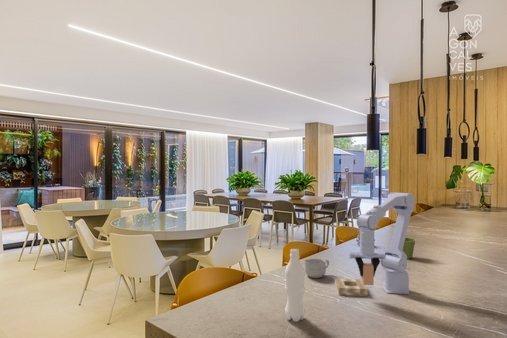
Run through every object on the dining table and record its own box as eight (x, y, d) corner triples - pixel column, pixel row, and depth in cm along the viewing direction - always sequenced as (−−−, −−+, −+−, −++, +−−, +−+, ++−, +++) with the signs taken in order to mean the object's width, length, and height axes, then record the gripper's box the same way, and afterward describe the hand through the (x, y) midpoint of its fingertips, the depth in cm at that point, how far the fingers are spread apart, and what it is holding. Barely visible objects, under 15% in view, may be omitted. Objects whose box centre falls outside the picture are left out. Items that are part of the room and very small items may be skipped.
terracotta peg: (371, 281, 134) (370, 262, 134) (373, 285, 130) (373, 265, 130) (361, 281, 135) (361, 262, 135) (363, 284, 131) (363, 265, 131)
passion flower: (360, 253, 224) (350, 238, 229) (369, 248, 231) (359, 234, 235) (371, 247, 216) (360, 232, 220) (379, 242, 223) (369, 227, 227)
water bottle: (302, 313, 119) (302, 247, 119) (306, 323, 112) (306, 252, 112) (283, 314, 119) (283, 247, 119) (286, 323, 112) (286, 252, 112)
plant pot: (411, 255, 200) (411, 237, 200) (419, 260, 188) (419, 241, 188) (392, 254, 201) (392, 237, 201) (398, 260, 190) (398, 241, 190)
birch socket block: (361, 285, 148) (361, 279, 148) (367, 296, 136) (367, 289, 136) (335, 284, 149) (335, 278, 149) (338, 294, 137) (338, 287, 137)
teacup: (309, 280, 155) (309, 264, 155) (300, 273, 165) (300, 258, 165) (335, 278, 159) (335, 262, 159) (325, 271, 169) (325, 256, 169)
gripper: (351, 245, 129) (351, 278, 129) (388, 245, 128) (388, 279, 128) (347, 241, 136) (347, 272, 136) (382, 241, 135) (383, 273, 135)
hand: (367, 275), depth 133 cm, fingers closed on terracotta peg, 4 cm apart
